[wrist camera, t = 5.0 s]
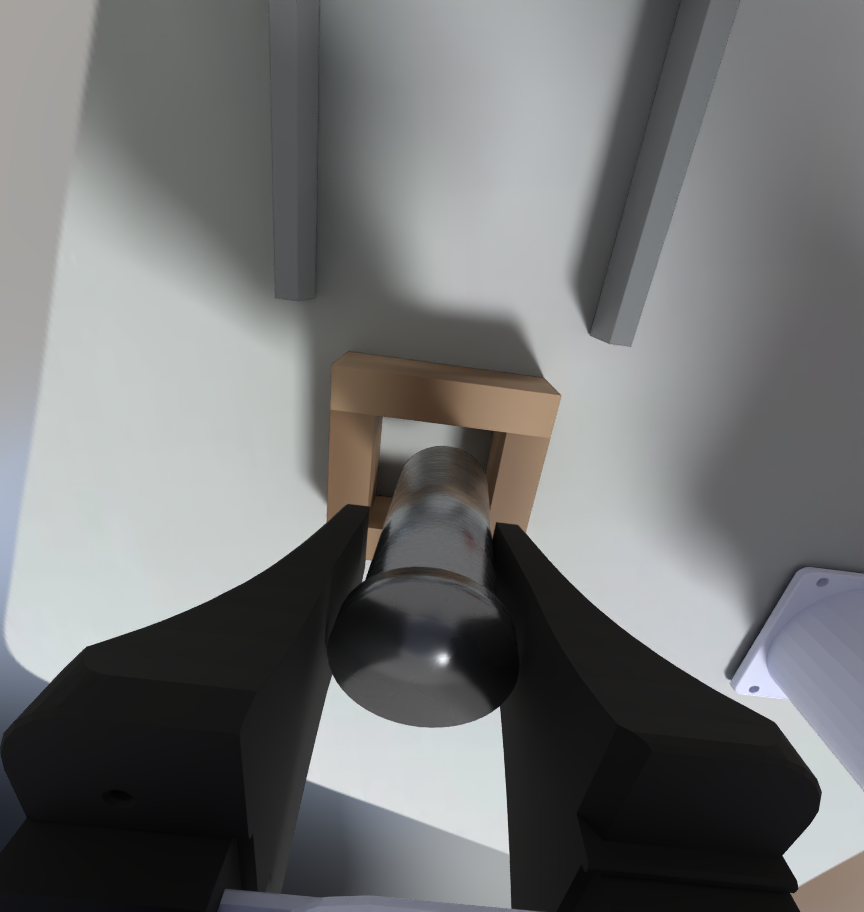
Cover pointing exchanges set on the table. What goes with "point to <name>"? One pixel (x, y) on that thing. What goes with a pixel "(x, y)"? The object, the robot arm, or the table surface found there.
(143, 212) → the table surface
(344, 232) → the table surface
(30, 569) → the table surface
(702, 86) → the grey u-shaped bracket
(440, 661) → the silver cylindrical piece
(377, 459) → the wooden square frame
